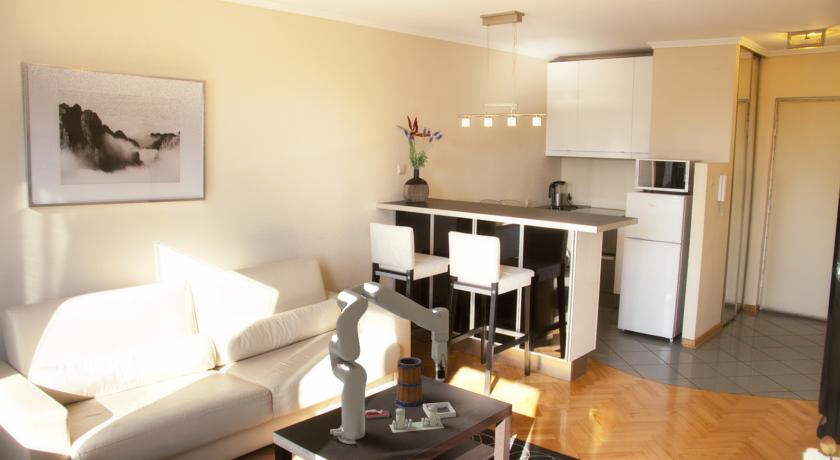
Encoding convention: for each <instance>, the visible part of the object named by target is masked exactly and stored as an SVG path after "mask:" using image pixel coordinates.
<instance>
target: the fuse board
mask: <svg viewBox="0 0 840 460" xmlns="http://www.w3.org/2000/svg"><path fill="white" fill-rule="evenodd" d="M441 419H442V418H440V417H437V426H435V427H431V426H429V425H428V421H429V418H428V417H421V421H415V422H413V420H412V419H411V418H408V419H407V418H405V429H403V430H398V429H396V419H394V420H392V424H389V427H390V429H391V432H392V434H394V433H405V432H415V431H426V430H436V429H445V427H444V425H443V423H442V422H441Z"/></svg>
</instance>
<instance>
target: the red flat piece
mask: <svg viewBox="0 0 840 460" xmlns="http://www.w3.org/2000/svg"><path fill="white" fill-rule="evenodd" d="M390 418H391V414H390V411H389V410H383V409H380V410H377V409H365V421H367V420H368V421H369V420H380V419H381V420H382V419H390Z"/></svg>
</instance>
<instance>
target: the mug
mask: <svg viewBox="0 0 840 460" xmlns="http://www.w3.org/2000/svg"><path fill="white" fill-rule="evenodd" d="M396 363H397V373H398V374H397V389H396V396H394V397H395V398H394V399H395V400H393V402H394V405H395V406H397V408H404V409H411V408H420V407H423V404H426V401H425V398H424V396H423V390H422V389H423V387H422V383H423V381H422V367H423V361H422V359H420V358H418V357H413V356H412V357H411V356H409V357H408V356H407V357H401V358H399V359H398V360H397V362H396Z"/></svg>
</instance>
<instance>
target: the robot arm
mask: <svg viewBox="0 0 840 460" xmlns="http://www.w3.org/2000/svg"><path fill="white" fill-rule="evenodd" d="M369 303H372V304H374V305H376V306H378V307H380V308H382V309H383V310H385V311H387V312H389V313H391V314H393V315H394V316H397V317H399V318H401V319H404V320H407V321H410V322H412V323H415V325H416V326H419V327H421V328H423V329H425V330H428V331H431V340H432V341H431V359H432V360H433V362H434V375H435V376H436V364H438V379H443V378H444V379H445V378H446V364H447V363H448V341H449V339H450V337H449V336H450V335H449V334H450V333H449V331H450V327H449V325H450V321H449V320H450V319H449V317H450V313H449V312H450V310H449V309H448V308H446V307H441V306H440V307H435V308H426V306H425V307H424V306H422V305H420V304H419V303H418V302H415V301H414V300H412V299H410V298H408V297H406V296H405V295H403V294H400V293H399V292H398V291H396V290H393V289H392V288H390V287H388V286H386V285H385V284H382V283H379V282H375V281H367V282H364V283H360V284H357V285H354V286H351V287H349V288H346V289H343V290H342V291H340V292H339V294H338V295H337V298H336V304H337V306H338V307H339V308H340V309H341V310H342V311H341V313H340V314H339V315H338V318H337V320H336V323H335V330H336V333H334V334H333V335H331V337H330V339H329V342H328V353H329V362H330V365H331V366H330V367H331V370H332V375H333V376H334V377H335V378H336V379H338V380H339V381H340V382H342V383H343V386H342V391H341V396H340V397H341V401H340V402H341V425H339V427H338V428H332V429H330V430H329V434H330V435H333V436H334V437H336V436H337V440H338V441H339V442H341V443H343V444H345V445H346V444H348V445H357V442H356V440H359V439H361V438H364V437H365V435H366V420H365V411H366V386H367V380H368V374H367V371H366V369H365V368H364V366H362V365H361V364H360V363H358V362H356V361H357V360H358V359H359V357H360V355H361V345H360V344H361V343H360V339H359V338H360V337H359V332H358V331H359V329H358V328H359V327H358V326H359V322H360V320H361V318H362V317H363V316H364V314H365V313H366V312H367V310H368V307H369ZM440 362H442V363H440ZM440 364H442V365H441V366H440Z"/></svg>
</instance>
